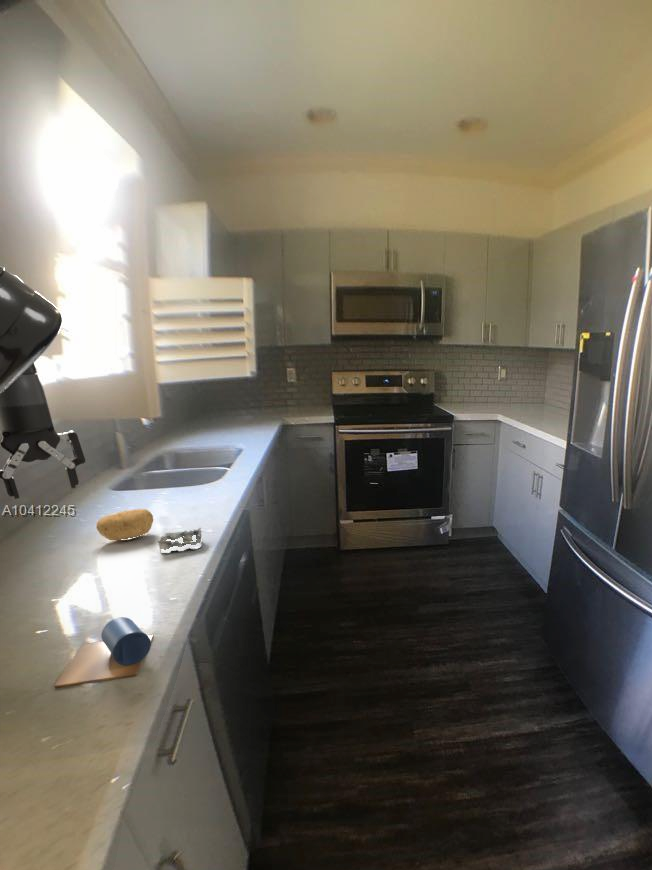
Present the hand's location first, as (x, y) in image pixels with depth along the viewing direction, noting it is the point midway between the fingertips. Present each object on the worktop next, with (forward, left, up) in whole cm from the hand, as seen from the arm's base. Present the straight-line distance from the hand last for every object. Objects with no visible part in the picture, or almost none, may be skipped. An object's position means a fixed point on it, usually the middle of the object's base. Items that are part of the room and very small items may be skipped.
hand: (45, 492), depth 84 cm
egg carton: (+14, +30, -26) cm, 42 cm away
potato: (-2, +40, -26) cm, 48 cm away
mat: (+11, -17, -26) cm, 33 cm away
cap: (+16, -20, -23) cm, 34 cm away
